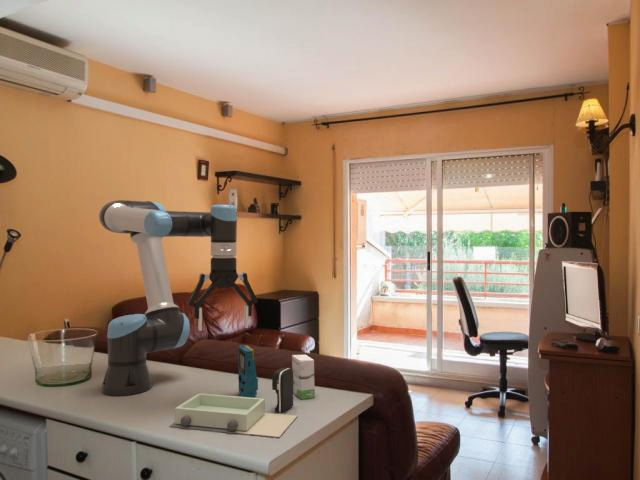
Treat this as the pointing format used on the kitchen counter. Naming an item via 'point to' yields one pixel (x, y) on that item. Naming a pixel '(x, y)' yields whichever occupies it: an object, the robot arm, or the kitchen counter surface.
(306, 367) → the ink box
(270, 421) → the track
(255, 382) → the handheld gaming console
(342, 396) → the kitchen counter surface
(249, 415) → the shallow sage green tray
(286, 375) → the battery charger
